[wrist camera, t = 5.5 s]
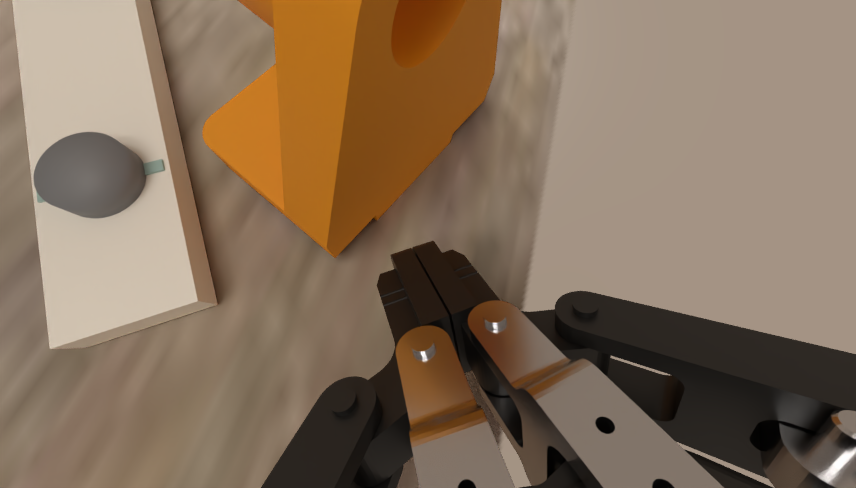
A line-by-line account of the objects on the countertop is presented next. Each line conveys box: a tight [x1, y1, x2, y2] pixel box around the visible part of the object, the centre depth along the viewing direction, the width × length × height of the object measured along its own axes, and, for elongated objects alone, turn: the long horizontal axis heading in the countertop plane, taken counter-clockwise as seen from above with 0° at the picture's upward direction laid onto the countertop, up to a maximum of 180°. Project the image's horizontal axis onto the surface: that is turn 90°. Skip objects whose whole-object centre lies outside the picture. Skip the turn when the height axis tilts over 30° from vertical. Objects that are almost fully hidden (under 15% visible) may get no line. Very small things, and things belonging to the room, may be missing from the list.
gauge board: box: [12, 0, 218, 349], centre depth 15 cm, size 5×24×2 cm, turn 20°
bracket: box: [202, 0, 502, 258], centre depth 11 cm, size 11×7×12 cm, turn 141°
